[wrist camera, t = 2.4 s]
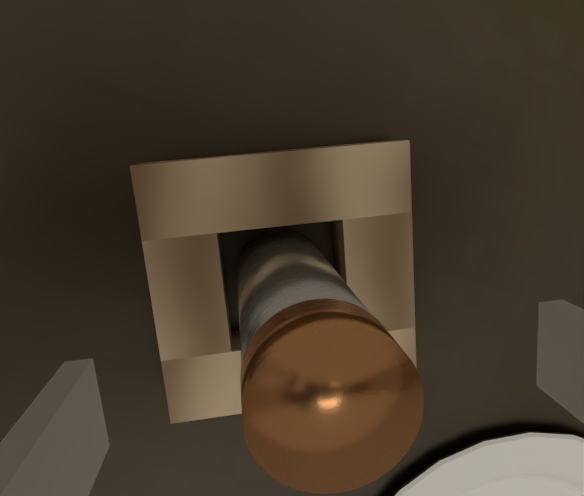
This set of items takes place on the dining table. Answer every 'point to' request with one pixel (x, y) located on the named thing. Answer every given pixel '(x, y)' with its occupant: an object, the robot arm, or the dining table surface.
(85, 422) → the robot arm
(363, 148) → the socket block
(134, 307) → the dining table surface
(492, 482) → the plate
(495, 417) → the dining table surface
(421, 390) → the clear jar
